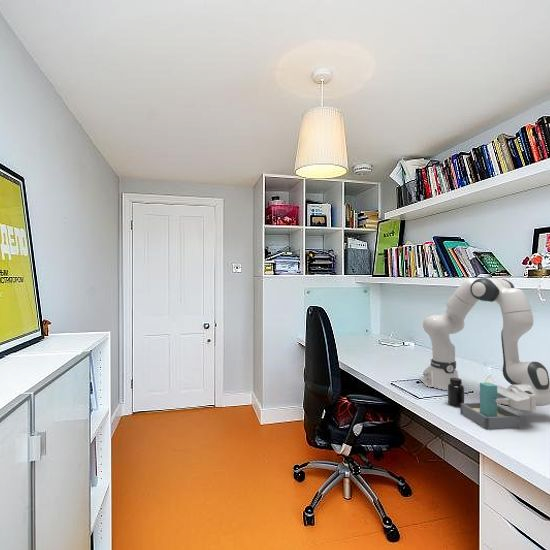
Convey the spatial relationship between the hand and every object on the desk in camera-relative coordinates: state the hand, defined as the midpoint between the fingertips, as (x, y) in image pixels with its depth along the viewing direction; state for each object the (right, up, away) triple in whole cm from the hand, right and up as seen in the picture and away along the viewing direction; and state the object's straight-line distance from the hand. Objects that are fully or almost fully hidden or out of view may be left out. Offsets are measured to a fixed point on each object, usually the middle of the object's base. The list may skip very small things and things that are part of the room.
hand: (487, 396), depth 147 cm
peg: (0, -10, 0) cm, 10 cm away
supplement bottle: (-4, -10, +18) cm, 21 cm away
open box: (0, -10, 0) cm, 10 cm away
